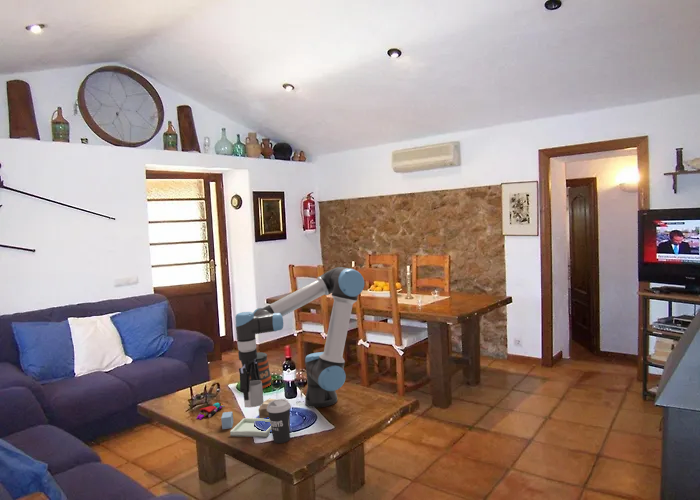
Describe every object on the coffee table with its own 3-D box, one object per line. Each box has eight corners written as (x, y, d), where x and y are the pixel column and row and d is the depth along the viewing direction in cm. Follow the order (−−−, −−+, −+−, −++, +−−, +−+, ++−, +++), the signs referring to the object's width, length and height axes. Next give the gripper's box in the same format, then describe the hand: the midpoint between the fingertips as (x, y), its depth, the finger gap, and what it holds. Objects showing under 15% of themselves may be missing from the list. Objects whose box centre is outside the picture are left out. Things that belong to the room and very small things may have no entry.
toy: (204, 421, 223) (228, 408, 236) (203, 413, 222) (227, 400, 235) (192, 419, 227) (216, 406, 239) (191, 410, 226) (215, 398, 239)
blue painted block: (233, 422, 219) (232, 411, 218) (231, 428, 213) (230, 416, 212) (224, 423, 218) (223, 412, 218) (222, 429, 212) (221, 418, 212)
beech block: (270, 406, 234) (269, 398, 233) (277, 407, 232) (276, 399, 231) (262, 411, 228) (261, 403, 228) (269, 412, 226) (268, 404, 226)
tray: (278, 423, 214) (278, 418, 213) (266, 437, 201) (266, 432, 201) (244, 422, 217) (243, 418, 217) (230, 436, 205) (230, 431, 205)
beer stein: (232, 387, 264) (228, 350, 262) (251, 378, 276) (248, 343, 275) (259, 392, 254) (255, 353, 252) (277, 382, 266) (274, 346, 264)
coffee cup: (270, 435, 202) (267, 399, 201) (294, 432, 203) (290, 397, 202) (268, 446, 193) (265, 408, 192) (293, 443, 194) (290, 406, 192)
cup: (253, 408, 203) (251, 387, 202) (238, 404, 209) (236, 383, 209) (267, 402, 208) (265, 381, 208) (251, 398, 215) (249, 378, 214)
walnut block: (272, 415, 223) (271, 404, 223) (271, 419, 218) (270, 408, 218) (261, 416, 223) (260, 405, 223) (259, 420, 218) (258, 409, 218)
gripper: (249, 343, 217) (253, 394, 219) (227, 357, 198) (233, 412, 199) (265, 342, 215) (269, 394, 217) (245, 356, 196) (250, 413, 198)
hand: (252, 403), depth 208 cm, fingers closed on cup, 7 cm apart
